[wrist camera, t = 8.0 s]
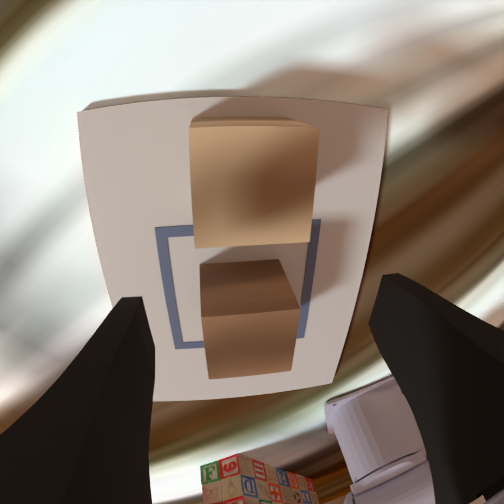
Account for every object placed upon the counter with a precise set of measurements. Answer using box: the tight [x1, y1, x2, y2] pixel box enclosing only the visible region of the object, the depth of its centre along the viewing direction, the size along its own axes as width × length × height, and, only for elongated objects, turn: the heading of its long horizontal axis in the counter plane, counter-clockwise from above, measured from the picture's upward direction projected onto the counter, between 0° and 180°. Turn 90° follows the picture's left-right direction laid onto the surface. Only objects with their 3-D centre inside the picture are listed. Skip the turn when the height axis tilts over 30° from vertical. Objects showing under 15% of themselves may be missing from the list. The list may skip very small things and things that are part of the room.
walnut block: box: [199, 259, 301, 379], centre depth 17 cm, size 4×4×4 cm
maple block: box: [188, 117, 320, 249], centre depth 13 cm, size 4×4×4 cm
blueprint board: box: [77, 97, 388, 401], centre depth 19 cm, size 22×16×1 cm
